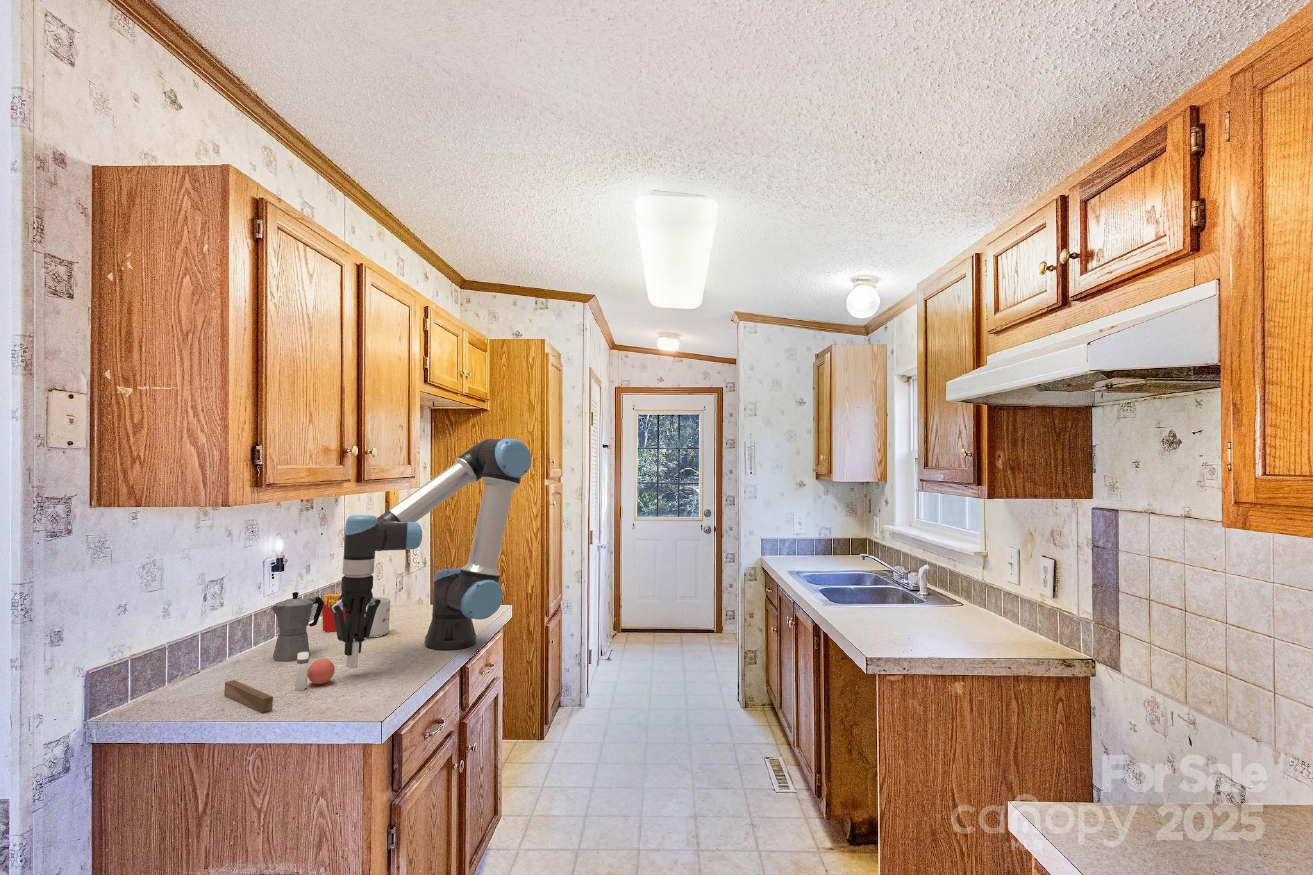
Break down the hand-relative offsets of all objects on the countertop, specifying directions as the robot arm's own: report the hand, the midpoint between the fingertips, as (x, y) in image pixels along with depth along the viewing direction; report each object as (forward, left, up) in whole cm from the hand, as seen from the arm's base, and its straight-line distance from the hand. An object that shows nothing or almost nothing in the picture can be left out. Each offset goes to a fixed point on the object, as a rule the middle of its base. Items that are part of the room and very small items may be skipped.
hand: (351, 667), depth 167 cm
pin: (+13, 0, -2) cm, 13 cm away
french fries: (-22, -46, -2) cm, 51 cm away
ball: (+8, 0, +1) cm, 8 cm away
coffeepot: (0, -28, -2) cm, 28 cm away
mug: (-26, -32, -3) cm, 41 cm away
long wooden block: (+25, 0, -2) cm, 25 cm away
